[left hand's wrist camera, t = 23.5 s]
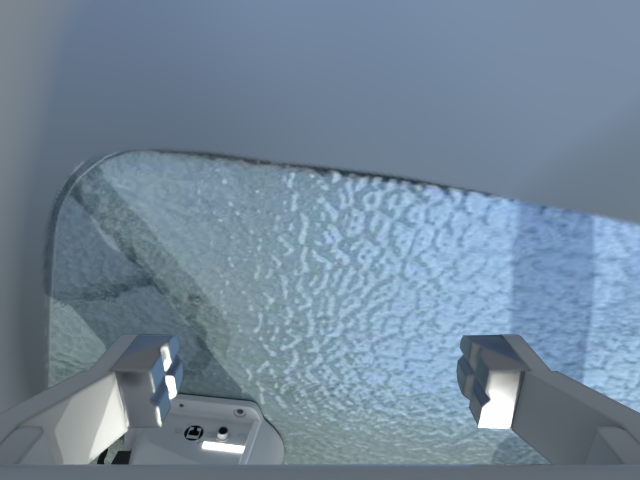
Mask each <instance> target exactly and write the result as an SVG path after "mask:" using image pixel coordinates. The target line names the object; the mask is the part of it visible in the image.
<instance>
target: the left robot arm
mask: <svg viewBox="0 0 640 480" xmlns="http://www.w3.org/2000/svg"><path fill="white" fill-rule="evenodd" d="M179 349H180V344H179V339H178V337H177V336H176V335H154V334H141V335H140V334H123V335H120V336H119V337H118V338H117V339H116V340H115V341H114V343H113V344H112V345H111V346H110V347H109V348H108V349H107V351H106V352H105V353H104V354H103V355H102V356H101V357H100V359H99V360H98V361H97V362H96V363H95V364H94V365H93V367H92V368H91V369H90V370H89V371H82V372H80V373H78V374H76V375H74V376H72V377H70V378H68V379H66V380H64V381H62V382H60V383H58V384H57V385H55V386H53V387H51V388H49V389H47V390H45V391H43V392H41V393H39V394H37V395H35V396H33V397H31V398H29V399H27V400H25V401H23V402H21V403H19V404H17V405H15V406H13V407H11V408H9V409H7V410H5V411H3V412H1V413H0V480H640V413H638V412H636V411H635V410H633V409H631V408H629V407H627V406H625V405H623V404H621V403H619V402H617V401H615V400H613V399H611V398H609V397H607V396H605V395H603V394H601V393H599V392H597V391H595V390H593V389H591V388H589V387H587V386H585V385H583V384H581V383H579V382H578V381H576V380H574V379H572V378H570V377H568V376H566V375H564V374H562V373H560V372H558V371H551V370H550V369H549V368H548V367H547V365H546V364H545V363H544V362H543V361H542V360H541V359H540V357H539V356H538V355H537V354H536V353H535V352H534V351H533V349H532V348H531V347H530V346H529V345H528V344H527V343H526V341H525V340H524V339H523V338H522V337H521V336H520V335H518V334H499V335H463V337H462V339H461V343H460V349H461V351H462V353H463V354H464V355H463V356H462V357H461V358H460V359H459V360H458V362H457V381H458V384H459V388H460V390H461V392H462V394H463V395H464V396H465V397H466V398H468V399H469V400H470V404H469V409H470V411H471V413H472V415H473V417H474V419H475V421H476V423H477V425H478V427H482V428H512V431H514V432H515V433H516V434H517V435H518V436H519V437H521V438H522V439H523V440H524V441H525V442H526V443H528V444H529V445H530V446H531V447H532V448H534V449H535V450H536V451H537V452H538V453H539V454H541V455H542V456H543V457H544V458H545V459H547V460H548V461H549V462H550V463H551V464H530V465H482V464H311V465H281V464H282V462H283V459H284V445H283V442H282V440H281V438H280V436H279V434H278V433H277V432H276V430H275V429H274V428H273V427H272V426H271V425H270V424H268V423H267V422H266V420H265V419H264V418H263V415H262V413H261V410H260V408H259V407H258V405H257V404H256V403H254V402H252V401H244V400H234V399H224V398H214V397H204V396H194V395H184V394H178V392H179V390H180V388H181V384H182V380H183V362H182V360H181V359H180V358H179V357H178V356H177V355H176V354H177V353H178V351H179ZM239 409H241V410H239ZM124 433H125V434H124ZM123 434H124V449H125V451H118V453H117V455H116V456H115V458H114V460H113V462H112V463H111V464H104V459H105V457H106V455H107V452H108V447H109V446H110V445H111V444H112V443H114V442H115V441H116V440H117V439H118V438H120V437H121V436H122V435H123ZM99 454H100V456H99V458H98V462H97V464H89V463H90V462H91V461H92V460H94V459H95V458H96V457H97V456H98V455H99Z"/></svg>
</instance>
